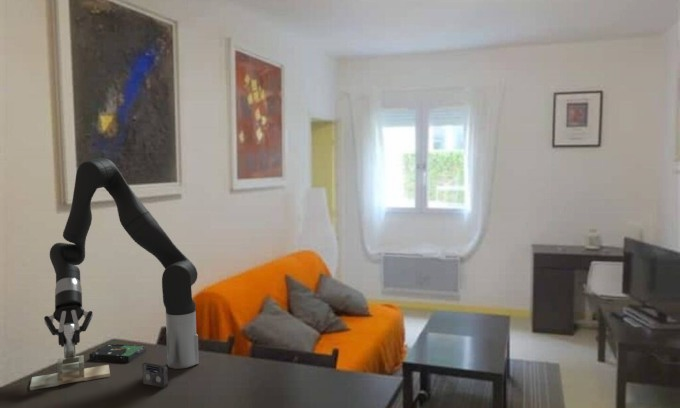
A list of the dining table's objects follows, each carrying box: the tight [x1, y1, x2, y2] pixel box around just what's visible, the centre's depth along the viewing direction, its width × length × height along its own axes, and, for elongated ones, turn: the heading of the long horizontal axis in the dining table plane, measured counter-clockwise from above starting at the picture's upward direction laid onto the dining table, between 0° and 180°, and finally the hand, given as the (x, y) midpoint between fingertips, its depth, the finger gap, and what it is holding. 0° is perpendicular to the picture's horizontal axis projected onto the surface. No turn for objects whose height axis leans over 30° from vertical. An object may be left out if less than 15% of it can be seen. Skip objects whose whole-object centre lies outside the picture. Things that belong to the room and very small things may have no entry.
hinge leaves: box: [29, 354, 111, 391], centre depth 155 cm, size 21×8×6 cm, turn 117°
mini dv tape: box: [141, 362, 169, 389], centre depth 150 cm, size 8×2×6 cm, turn 65°
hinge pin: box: [63, 323, 77, 359], centre depth 154 cm, size 3×3×10 cm
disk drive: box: [89, 343, 147, 363], centre depth 174 cm, size 10×3×15 cm
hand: (69, 344), depth 153 cm, fingers closed on hinge pin, 3 cm apart
